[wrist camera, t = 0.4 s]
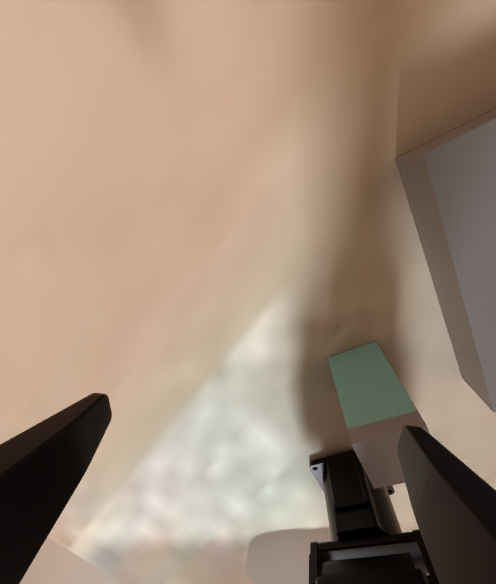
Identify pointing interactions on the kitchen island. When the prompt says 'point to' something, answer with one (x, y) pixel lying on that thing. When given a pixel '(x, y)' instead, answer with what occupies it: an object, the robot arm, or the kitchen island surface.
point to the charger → (373, 410)
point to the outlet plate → (460, 239)
